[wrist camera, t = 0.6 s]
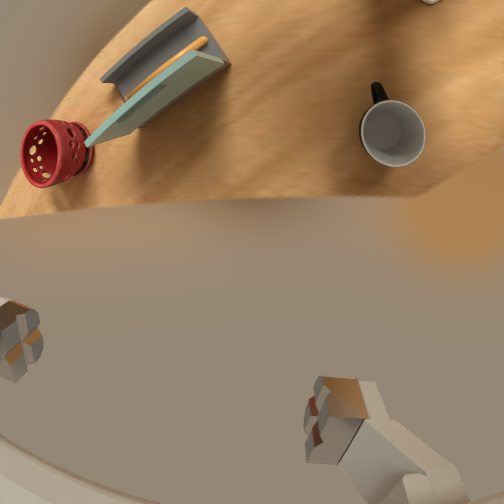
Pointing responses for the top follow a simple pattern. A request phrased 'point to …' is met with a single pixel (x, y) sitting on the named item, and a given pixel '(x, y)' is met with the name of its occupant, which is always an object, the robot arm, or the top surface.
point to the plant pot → (55, 151)
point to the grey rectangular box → (164, 55)
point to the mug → (391, 130)
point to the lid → (155, 95)
